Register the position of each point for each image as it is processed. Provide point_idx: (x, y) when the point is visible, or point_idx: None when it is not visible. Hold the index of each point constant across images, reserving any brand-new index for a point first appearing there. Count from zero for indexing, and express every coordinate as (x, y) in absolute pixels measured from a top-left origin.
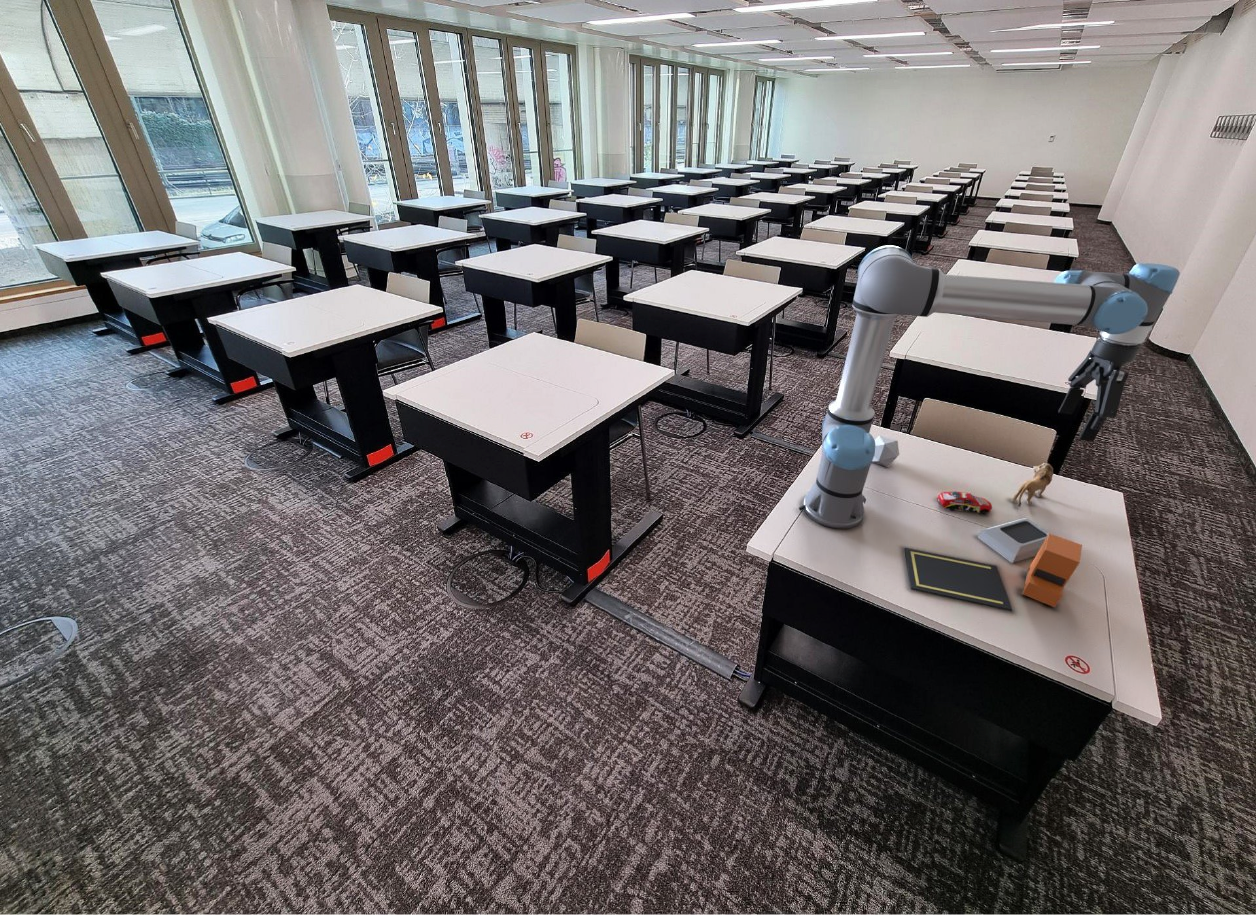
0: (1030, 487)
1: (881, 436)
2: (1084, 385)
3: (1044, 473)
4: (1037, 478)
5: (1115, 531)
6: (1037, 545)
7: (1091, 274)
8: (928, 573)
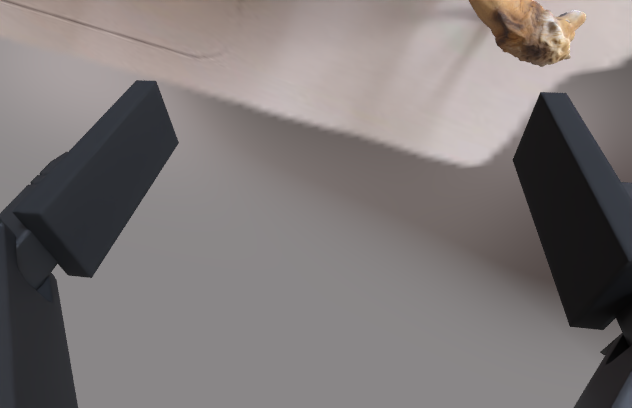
0: None
1: None
2: (597, 371)
3: (514, 30)
4: (502, 3)
5: (367, 134)
6: None
7: None
8: None
